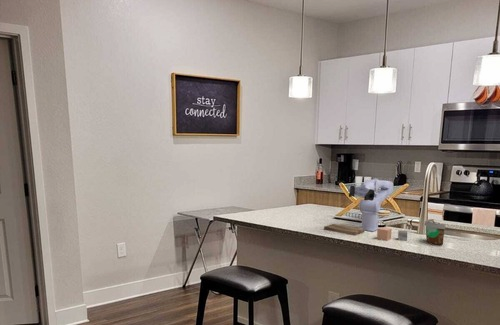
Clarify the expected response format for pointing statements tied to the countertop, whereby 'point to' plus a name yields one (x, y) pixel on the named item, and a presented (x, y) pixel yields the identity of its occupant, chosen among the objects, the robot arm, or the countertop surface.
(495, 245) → the countertop surface
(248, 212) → the countertop surface
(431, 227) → the food container
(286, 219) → the countertop surface
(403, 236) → the grey block
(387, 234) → the cube
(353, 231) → the board
